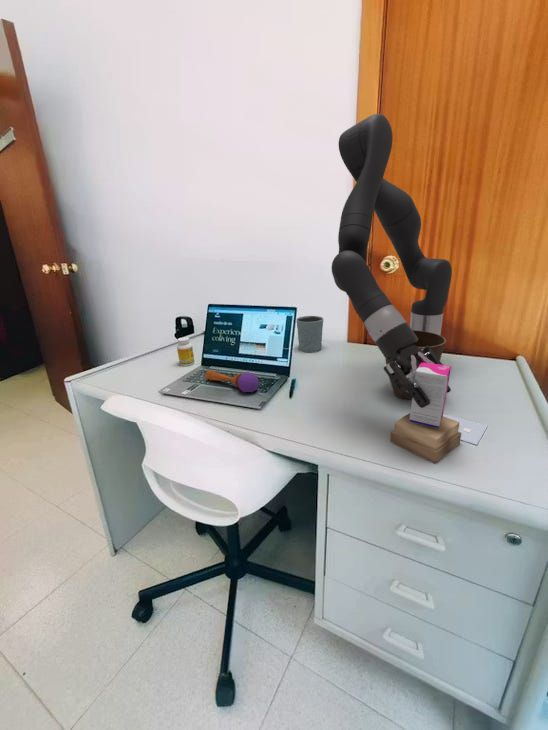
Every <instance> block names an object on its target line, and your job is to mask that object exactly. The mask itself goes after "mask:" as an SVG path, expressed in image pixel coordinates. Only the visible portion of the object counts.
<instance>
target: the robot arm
mask: <svg viewBox="0 0 548 730" xmlns="http://www.w3.org/2000/svg"><path fill="white" fill-rule="evenodd" d="M393 136H394V135H393V129H392V126H391V124H390V121H389V120H388V118H387V117H386V116H385V115H384V114H382V113H375V114H372V115H369V116H367V117H366V118H364V119H363V120H361V121H359V122H358V123H356V124H354V125H352V126H351V127H350V128H349V127H348V128H347V129H346V130H344V131H343V132H342V133H341V134H340V135H339V139H338V151H339V154H340V157H341V160H342V162H343V164H344V166H345V167H346V169H347V171H348V172H349V174H350V175H351V176H352V178H353V179H354V180H355V182H356V183H355V185H353V188H352V190H351V191H350V193H349V195H348V197H347V199H346V201H345V203H344V205H343V208H342V211H341V216H340V222H339V229H338V234H337V235H338V236H337V239H338V240H337V242H338V253H337V255H336V256H334V258H333V260H332V262H331V275H332V277H333V280H334V283H335V285H336V287H337V288H338V289H339V290H341V292H344V293H346V295H347V297H348V298H349V300H350V301H351V304H352V308H353V309H354V311H355V313H356V314H357V316H358V317H359V319H360V320H361V322H362V323H363V325H364V326H365V329H366V330H367V333H368V334H369V336H370V337H371V339H372V340H373V342H374V343H375V344H376V346H377V348H378V349H379V351H380V352H381V354H382V355H383V357H384V358H386V359H391V360H392V362H390V363H389V364H387V365H385V366H383V370H384V371H385V373H386V374H387V376H388V378H389V380H390V379H391V380H392V382H393V383H394V385H395V386H396V388H397V389H398V391H399V392H403V391H406V392H409V393H410V394H411V396H412V397H413V399H414V400H415V401H416V403H417V404H418V405H419V406H420V407H421V408H423V407H425V406H427V405H429V404H430V400H429V399H428V397H427V396H426V395H425V393H424V392H423V390H422V389H421V387H418V386H419V385H418V381H417V380H416V379H415V373H416V370H417V368H418V367H419V365H420V364H421V362H426V363H433V362H435V364H439V365H443V363H442V362H441V359H440V360H439V359H438V357H437V356H436V355H435V353H434V352H433V350H432V349H431V348H430V346H426V347H424V348H423V349H420V348H418V347H417V345H416V343H417V341H418V338H417V336H416V335H415V333H414V332H413V331H412V330H417V331H426V332H431V333H435V334H438V335H440V336H442V335H441V334H442V326H443V318H444V311H445V310H444V309H445V307H446V306H447V303H448V297H449V292H450V286H451V282H452V277H453V276H452V274H453V273H452V272H453V269H452V264H451V262H449V260H447V259H444V258H432V257H431V258H428V257H426V256H425V255H424V253H423V252H422V249H421V247H420V244H419V239H420V233H421V229H422V218H421V215H420V213H419V211H418V208H417V207H416V205H415V202H414V200H413V198H412V197H411V195H409V193H407V192H406V191H404V190H403V189H401V188H400V187H399V186H396V185H395V184H393V183H391V182H390V181H388V180H386V178H384V176H385V173H386V172H385V171H386V168H387V165H388V162H389V159H390V156H391V151H392V148H393V140H394V139H393ZM374 213H375V215H376V217H377V218H378V220H379V221H378V222H380V225H381V226H382V228H383V230H384V232H385V234H386V235H387V237H388V239H389V240H390V242H391V244H392V245H393V248H394V250H395V252H396V254H397V256H398V257H399V260H400V263H401V265H402V268H403V271H404V274H405V275H406V278H407V280H408V282H409V284H410V285H411V286H412V287H413V288H415V289H416V290H424V291H426V292H425V296H424V298H423V299H420V300H416V301H414V302H413V303H411V308H410V309H411V310H410V318H409V319H410V322H409V324H408V322H407V321H406V320H405V317H404V316H403V315H402V314H401V313H400V311H399V310H398V309H397V308H396V307H395V305H393V303H392V302H391V301H390V299H389V298H388V296H387V295H386V294H385V292H384V291H383V290H382V289H381V287H380V286H379V284H378V283H377V280H376V278H375V277H374V275H373V272H372V271H371V269H370V267H369V265H368V264H367V261H368V260H367V258H368V247H369V242H370V237H371V231H372V223H373V217H374ZM386 359H385V360H386ZM433 364H434V363H433ZM399 378H400V379H401V381H402V382H403V384H402V385H401V383H400V382H399V380H398V379H399ZM410 381H411V383H410ZM451 391H452V389H451V387H450V386H449V384H448V389H447V394H448V393H450V392H451Z"/></svg>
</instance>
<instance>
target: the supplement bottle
mask: <svg viewBox="0 0 548 730" xmlns="http://www.w3.org/2000/svg"><path fill="white" fill-rule="evenodd" d="M177 343H178V344H177V345H176V349H177V355H178V362H179V365H180V366H181V367H188V366H193V364H195V356H194V355H195V354H194V350H193V344H192V343H191V341H190V338H189V337H188V336H187V337H185V336H184V337H179V338H178V339H177Z"/></svg>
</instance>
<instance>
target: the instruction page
mask: <svg viewBox="0 0 548 730" xmlns="http://www.w3.org/2000/svg"><path fill="white" fill-rule="evenodd" d="M443 416H444V417H446V418H449V419H452V420H454V421H457V422H460V423H459V429H458V432H460V433H461V439H460V442H464V443H468V444H471V445H474V446H478V444H479V443H480V440H481V439H482V437H483V435H484V433H485V432H486V429H487V428H488V425H484V424H482V423H478V422H474V421H472V420H467V419H463V418H460V417H457V416H453V415H449V414H445V413H443Z"/></svg>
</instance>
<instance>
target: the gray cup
mask: <svg viewBox="0 0 548 730" xmlns="http://www.w3.org/2000/svg"><path fill="white" fill-rule="evenodd" d="M295 320H296V328H297V339H298V349H299V351H300V352H303V353H311V354H312V353H317V352H320V351H321V350H322V339H323V329H324V327H323V326H324V318H323V317H322V316H319V315H306V316H299V317H297V318H296V319H295Z"/></svg>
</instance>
